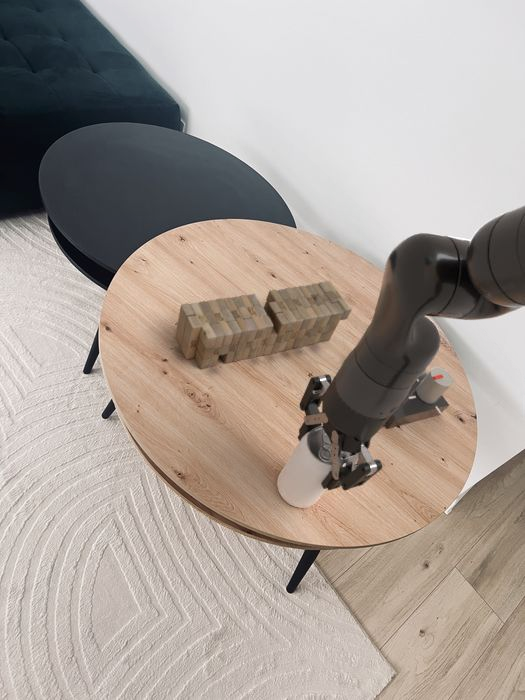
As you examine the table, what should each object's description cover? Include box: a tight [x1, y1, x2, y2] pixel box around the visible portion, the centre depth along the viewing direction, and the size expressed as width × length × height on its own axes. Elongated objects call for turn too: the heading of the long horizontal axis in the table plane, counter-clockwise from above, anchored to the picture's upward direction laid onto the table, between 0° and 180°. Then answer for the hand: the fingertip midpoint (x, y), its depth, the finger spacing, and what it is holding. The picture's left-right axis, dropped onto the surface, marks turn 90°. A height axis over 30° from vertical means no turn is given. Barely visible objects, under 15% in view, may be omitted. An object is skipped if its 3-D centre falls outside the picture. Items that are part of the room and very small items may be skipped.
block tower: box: [174, 280, 353, 370], centre depth 91 cm, size 8×8×29 cm
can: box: [276, 425, 346, 509], centre depth 72 cm, size 6×6×12 cm
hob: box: [384, 369, 450, 430], centre depth 93 cm, size 15×13×3 cm
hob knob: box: [416, 366, 454, 404], centre depth 89 cm, size 4×4×5 cm
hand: (316, 461), depth 71 cm, fingers closed on can, 6 cm apart
